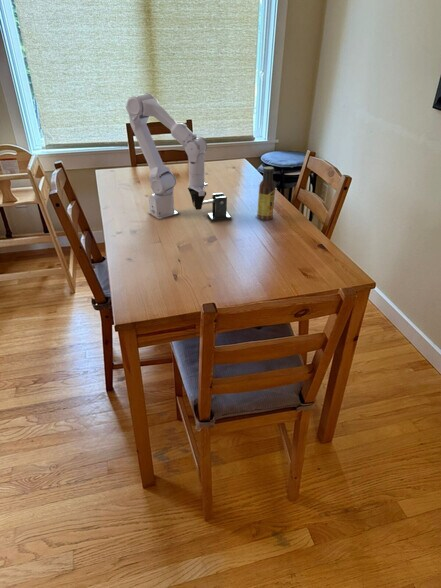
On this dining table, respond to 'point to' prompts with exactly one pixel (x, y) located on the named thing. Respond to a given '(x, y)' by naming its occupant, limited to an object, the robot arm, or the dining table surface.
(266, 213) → the sauce bottle
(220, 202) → the dark grey lever bracket
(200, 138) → the robot arm
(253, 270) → the dining table surface
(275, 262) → the dining table surface
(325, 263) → the dining table surface
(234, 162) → the dining table surface
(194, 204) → the tap lever
